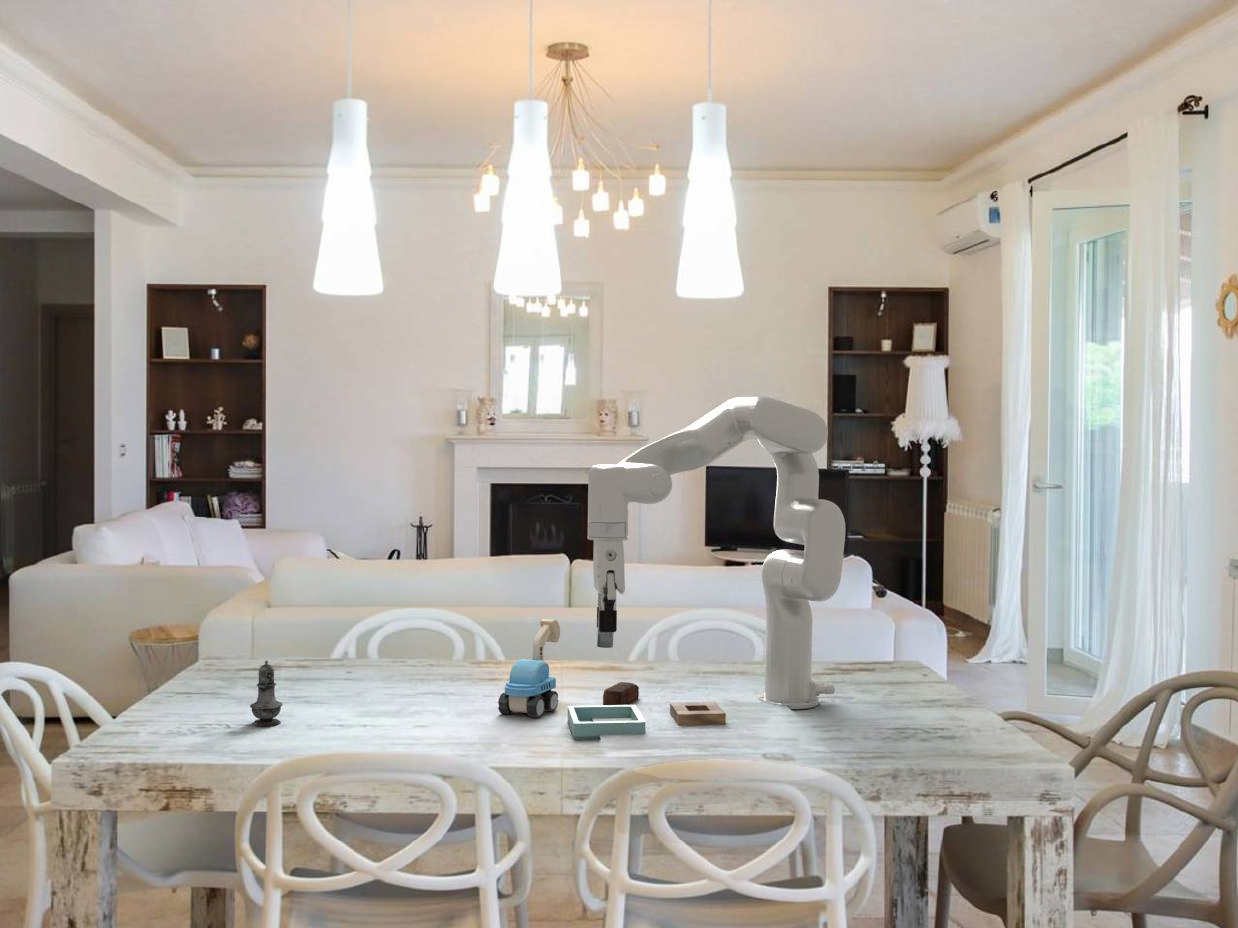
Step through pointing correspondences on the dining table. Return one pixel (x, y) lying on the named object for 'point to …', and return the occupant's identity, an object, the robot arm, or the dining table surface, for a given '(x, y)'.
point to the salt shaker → (266, 699)
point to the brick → (621, 694)
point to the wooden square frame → (697, 713)
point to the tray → (589, 730)
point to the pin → (604, 633)
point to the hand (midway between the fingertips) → (606, 629)
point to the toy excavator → (532, 678)
